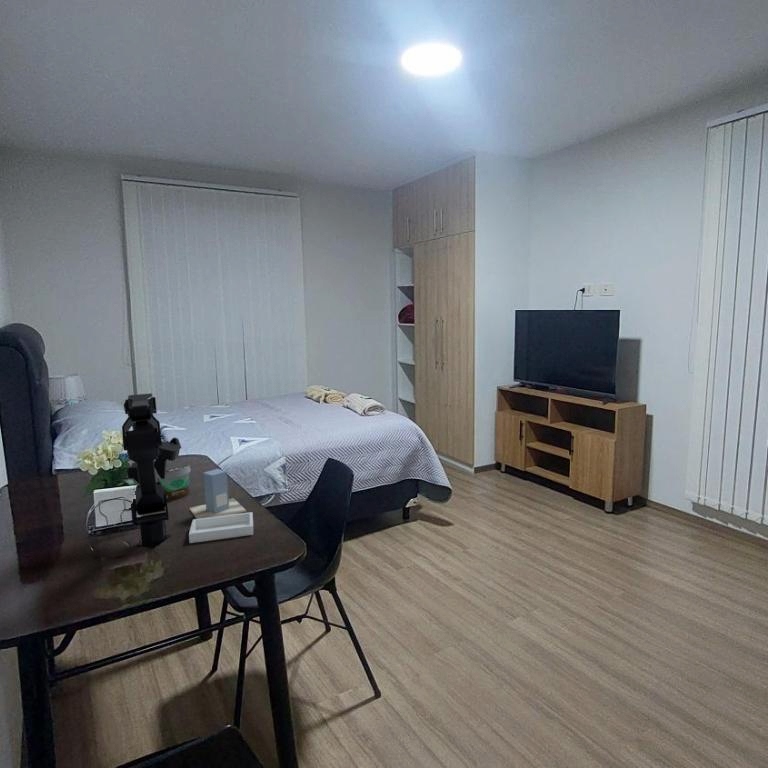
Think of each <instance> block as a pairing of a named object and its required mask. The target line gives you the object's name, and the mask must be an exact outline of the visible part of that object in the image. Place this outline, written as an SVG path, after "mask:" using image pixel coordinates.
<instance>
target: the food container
mask: <svg viewBox="0 0 768 768" xmlns="http://www.w3.org/2000/svg"><path fill="white" fill-rule="evenodd" d="M191 471H192V469H191V466H190V465H189V463H185V465H184V466H181V467H174V468H170V469H168V470H166V472H165V478H164V479H161V478H160V476H159V475H158V473H157V471H155V476H156V482H161V484H162V487H163V494H166V497H167V501H175V500H179V499H183V498H186V497H187V496H188V495H189V493H190V492H189V491H190V487H189V486H190V473H191Z"/></svg>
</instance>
